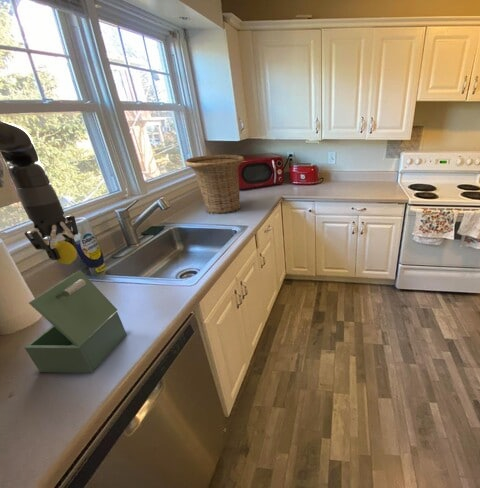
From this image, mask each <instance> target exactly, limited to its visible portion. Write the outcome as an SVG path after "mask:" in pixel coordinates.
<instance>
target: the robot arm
mask: <svg viewBox="0 0 480 488" xmlns="http://www.w3.org/2000/svg"><path fill="white" fill-rule="evenodd" d="M0 155H1V157H2V158H3V161H4V162H5V164H6V169H7V174H8V176H9V178H10V180H11V182H12V184H13V186H14V188H15V190H16V195H17V197H18V199H19V201H20V203H21V205H22V207H23V210H24V212H25V214H26V215H27V217H28V219H29V220H30V221H31V222H32V223H33V229H31V230H27V231H24V235H25V237H26V238H27V240H28V241H29V242H30V243H31V245H32V246H33V248H34V249H35V250H36V251H39V250H40V251H45V253H46V255H47V256H48V258H49V259H50V260H52V261H56V260H59V259H60V256H59V254H58V251H57V249H56V248H54V247H55V245H54V244H55V241H57V236H58V235H60V237H62V238H63V241H65V242H68V243H70V244H72V245H73V246H74V248H75V249H76V251H77V250H78V245H77V243H76V240H75V236H77V235H79V229H78V225H77V221H76V217H75V215H65V211H64V209H63V207H62V204H61V201H60V199H59V197H58V194H57V192H56V190H55V188H54V187H53V185H52V183H51V181H50V179H49V176H48V174H47V172H46V169H45V168H44V167H43V164H42V163H41V160H40V158H39V155H38V152H37V149H36V146H35V145H34V141H33V139H32V136H31V135H30V133H29V132H28V131H27V130H26V129H25V128H23V127H21V126H19V125H17V124H14V123H8V122H4V121H1V120H0Z"/></svg>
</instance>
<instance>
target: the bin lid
mask: <svg viewBox="0 0 480 488" xmlns="http://www.w3.org/2000/svg"><path fill="white" fill-rule="evenodd" d="M28 304H29V305H30V306H31V307H32V308H33V309H34V310H35V311H37V312H38V314H40V315H41V316H42V317H43V318H44V319H45V320H46V321H48V323H50V324H51V326H54V327H55V328H56V329H58V330H59V331H60V332H61V333H62V334H63V335H64V336H65V337H66V338H67V339H69V340H70V341H71V342H72V343H73V344H74V345H75V346H76V347H78V346H80V345H81V344H82V343H83V342H84V341H85V340H86V339H87V338H88V337H89V336H90V335H91V334H93V333H94V332H95V331H96V330H97V329H98V328H99V327H100V326H101V325H102V324H103V323H104V322H105V321H106V320H107V319H108V318H109V317H111V316H112V315H113V314H114V313H115V312H118V308H117V307H116V306H115V305H114V304H113V303H112V302H111V301H110V300H109V299H108V298H107V297H106V296H105V294H103V292H102V291H101V290H100V289H99V288H98V287H97V286H96V285H95V284H94V283H93V282H92V281H91V280H90V279H89V278H88V277H87V275H86V274H84V273H83V271H82V270H80V269H79V270H77V271H75V272H74V273H72V274H71V275H69V276H68V277H67V278H65V279H63V280H61V281H60V282H58V283H56V284H55V285H54V286H52V287H50V288H49V289H48V290H46V291H44V292H42V293H41V294H39V295H38V296H36V297H34V298H33V299H32V300H30V301H28Z"/></svg>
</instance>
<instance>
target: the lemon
mask: <svg viewBox="0 0 480 488" xmlns="http://www.w3.org/2000/svg"><path fill="white" fill-rule="evenodd" d="M54 245H55V247H54V248H56V249H57V251H58V254H59V256H60V259H59V260H55V261H56V262H57V263H59V264H63V265H71V264H72V263H73V262H74V261H76V259H77V258H78V251H77V250H76V249H75V248H74V246H73V245H72V244H70V243H68V242H65V241H64V240H58V241H57V242H56V243H55V242H54Z"/></svg>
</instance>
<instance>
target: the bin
mask: <svg viewBox="0 0 480 488" xmlns="http://www.w3.org/2000/svg"><path fill="white" fill-rule="evenodd" d="M126 335H127V331H126V329H125V327H124V325H123V322H122V320H121V317H120V315H119V313H118V311H116V312H115V313H114V314H113V315H112V316H111V317H109V318H108V319H107V320H106V321H105V322H104V323H103V324H102V325H101V326H100V327H99V328H98V329H97V330H96V331H95V332H94V333H93V334H91V335H90V336H89V337H88V338H87V339H86V340H85V341H84V342H83V343H82V344H81V345H80V346H78V347H76V346H75V345H74V344H73V343H72V342H71V341H70V340H69V339H67V338H66V337H65V336H64V335H63V334H62V333H61V332H60V331H59V330H58V329H56V328H55V327H54V326H53V325H51V326H50V327H49V328H47V329H46V330H45V331H44V332H42V333H41V334H39V335H38V336H37V337H36V338H35V339H33V340H32V341H31V342H30V343H28V344H27V345H25V346H23V348H24V350H25V352H26V354H28V356H29V358H30V359H31V360H32V362H33V363H34V365H35V367H36V368H37V370H38V371H39V373H93V372H94V370H96V369H97V368H98V367H99V365H100V364H101V363H102V362H103V361H104V360H105V359H106V358H107V357H108V355H109V354H110V353H111V352H112V351H113V350H114V349H115V348H116V346H117V345H118V344H119V343H121V341H122V340H123V339H124V337H126Z"/></svg>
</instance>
